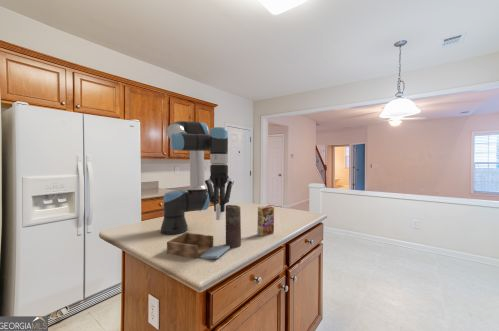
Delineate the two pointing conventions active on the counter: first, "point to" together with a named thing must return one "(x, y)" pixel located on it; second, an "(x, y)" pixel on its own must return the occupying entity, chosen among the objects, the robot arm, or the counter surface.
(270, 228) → the candy box
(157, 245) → the counter surface
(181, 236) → the box
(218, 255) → the panel
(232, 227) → the candle
